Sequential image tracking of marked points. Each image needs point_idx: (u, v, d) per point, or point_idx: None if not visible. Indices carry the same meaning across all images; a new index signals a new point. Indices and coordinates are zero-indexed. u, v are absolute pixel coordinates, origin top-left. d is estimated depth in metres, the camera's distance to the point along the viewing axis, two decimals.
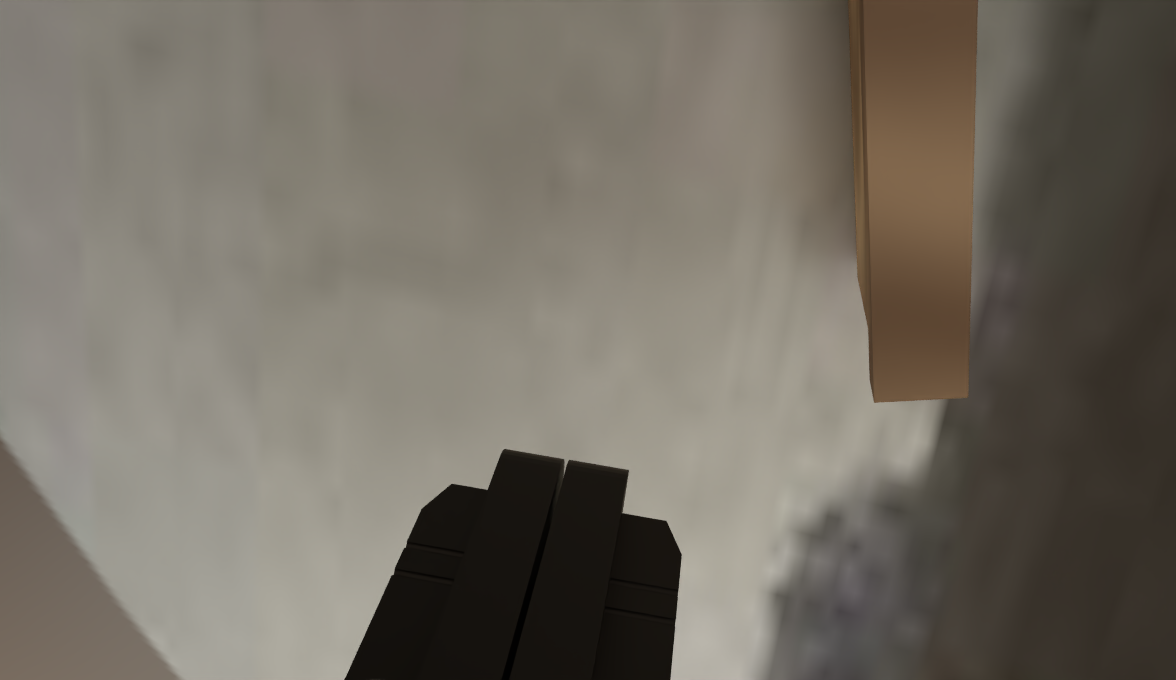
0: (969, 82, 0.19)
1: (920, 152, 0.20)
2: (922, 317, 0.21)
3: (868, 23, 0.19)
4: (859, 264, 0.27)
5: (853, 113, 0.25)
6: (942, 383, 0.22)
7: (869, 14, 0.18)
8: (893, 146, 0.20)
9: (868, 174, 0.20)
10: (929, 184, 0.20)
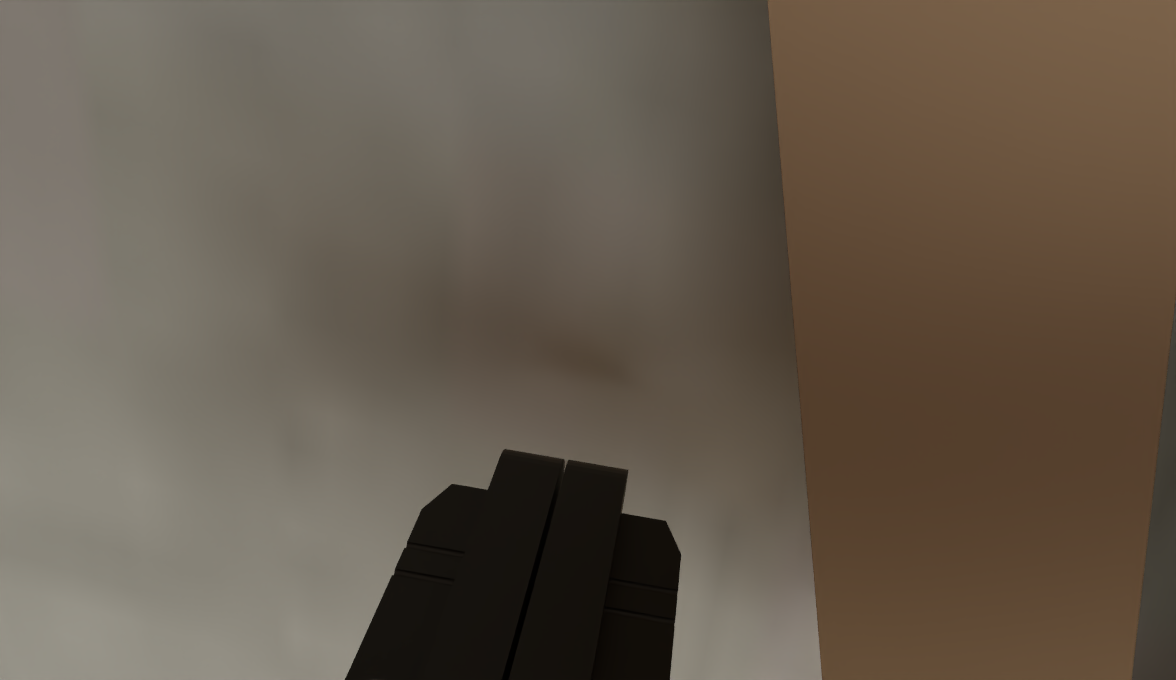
0: (1121, 582, 0.06)
1: None
2: None
3: (815, 426, 0.06)
4: None
5: None
6: None
7: (817, 404, 0.06)
8: None
9: None
10: None
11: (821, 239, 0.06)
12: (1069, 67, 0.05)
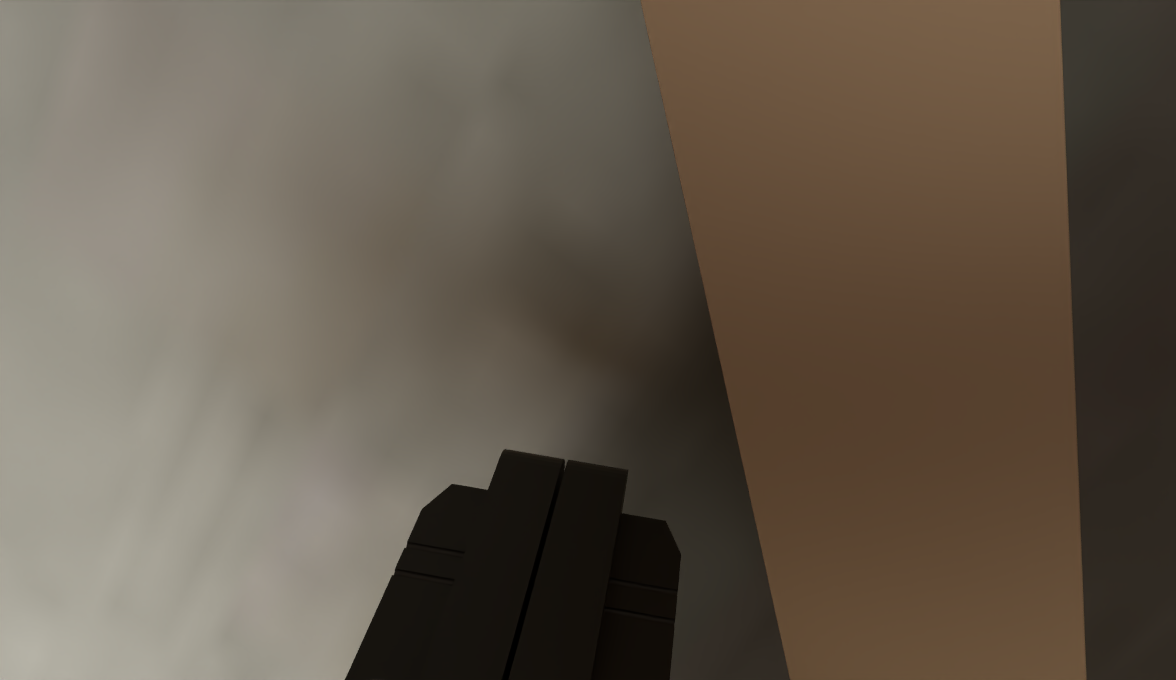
0: (1061, 536, 0.06)
1: None
2: None
3: (742, 402, 0.06)
4: None
5: None
6: None
7: (740, 381, 0.06)
8: (859, 675, 0.07)
9: None
10: None
11: (721, 222, 0.06)
12: (934, 35, 0.05)
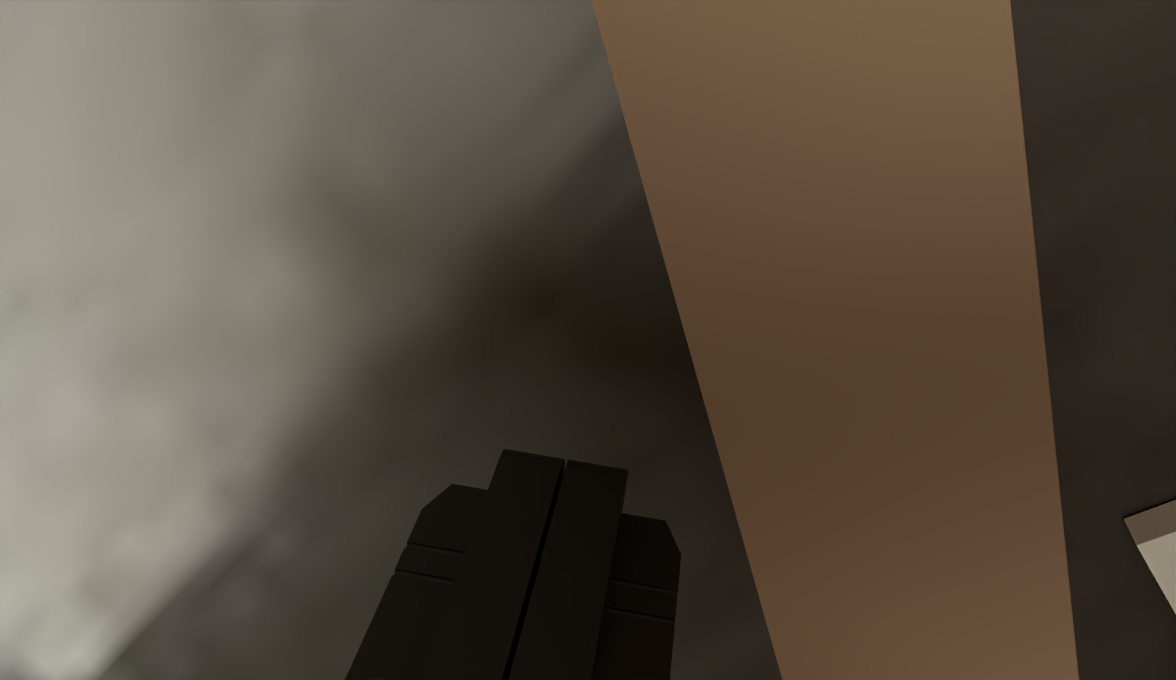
0: (1044, 528, 0.06)
1: None
2: None
3: (717, 406, 0.06)
4: None
5: None
6: None
7: (714, 385, 0.06)
8: (850, 674, 0.07)
9: None
10: None
11: (687, 226, 0.06)
12: (886, 35, 0.05)
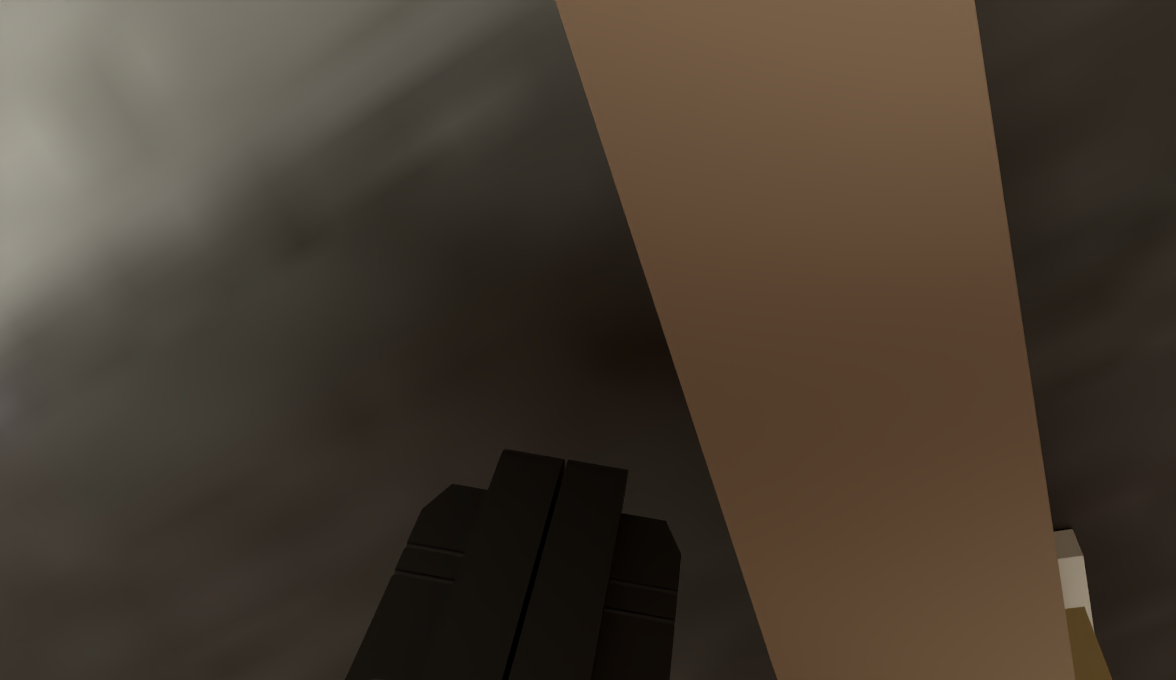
0: (1033, 524, 0.06)
1: None
2: None
3: (701, 408, 0.06)
4: None
5: None
6: None
7: (697, 388, 0.06)
8: (846, 674, 0.07)
9: None
10: None
11: (662, 230, 0.06)
12: (852, 34, 0.05)
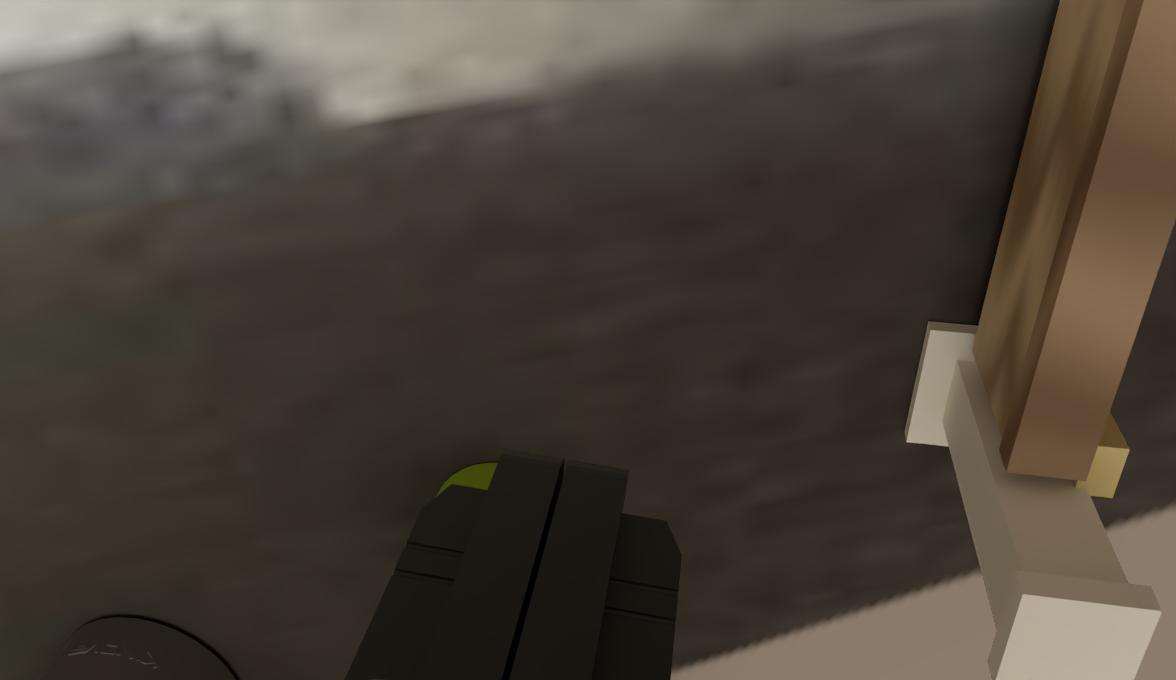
0: (1165, 233, 0.23)
1: (1108, 280, 0.23)
2: (1068, 410, 0.25)
3: (1098, 171, 0.22)
4: (981, 342, 0.31)
5: (1010, 215, 0.29)
6: (1067, 466, 0.26)
7: (1101, 164, 0.22)
8: (1087, 271, 0.23)
9: (1059, 289, 0.24)
10: (1107, 306, 0.24)
11: (1118, 117, 0.22)
12: None
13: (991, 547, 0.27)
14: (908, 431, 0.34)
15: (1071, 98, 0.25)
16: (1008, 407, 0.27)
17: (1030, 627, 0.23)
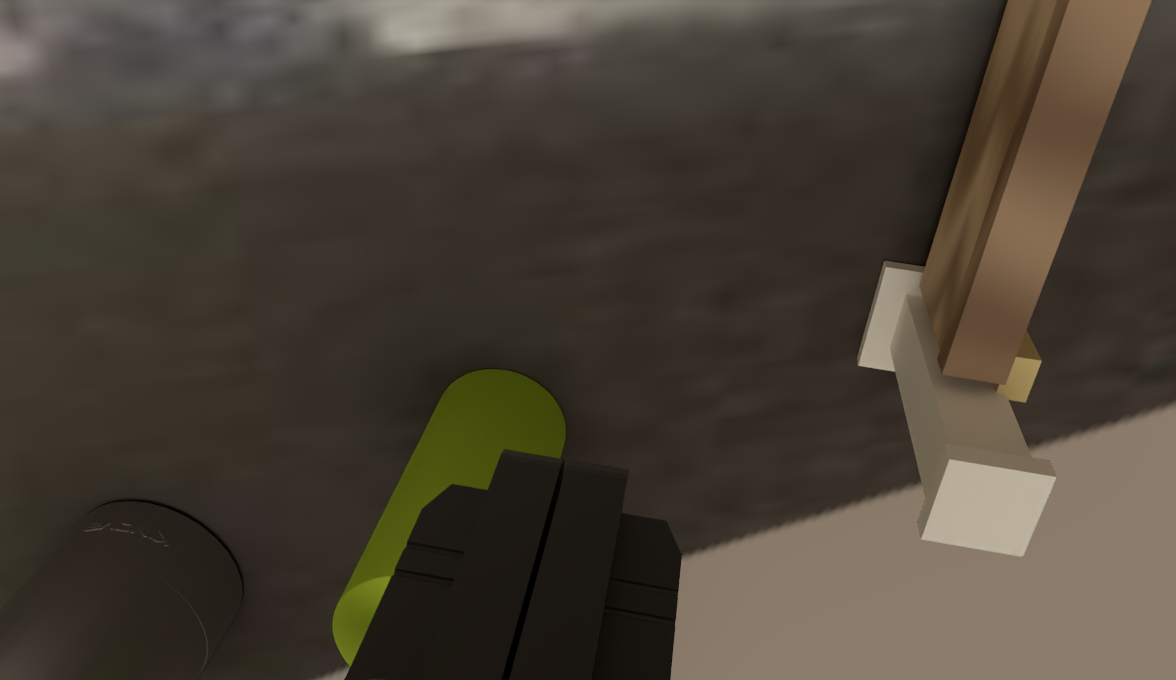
0: (1079, 178, 0.28)
1: (1033, 214, 0.29)
2: (995, 323, 0.31)
3: (1030, 123, 0.28)
4: (928, 277, 0.37)
5: (959, 169, 0.35)
6: (991, 371, 0.32)
7: (1033, 118, 0.28)
8: (1017, 206, 0.29)
9: (994, 220, 0.29)
10: (1031, 236, 0.29)
11: (1049, 80, 0.27)
12: (1105, 58, 0.27)
13: (926, 436, 0.32)
14: (860, 356, 0.40)
15: (1014, 68, 0.31)
16: (947, 324, 0.33)
17: (953, 488, 0.29)
